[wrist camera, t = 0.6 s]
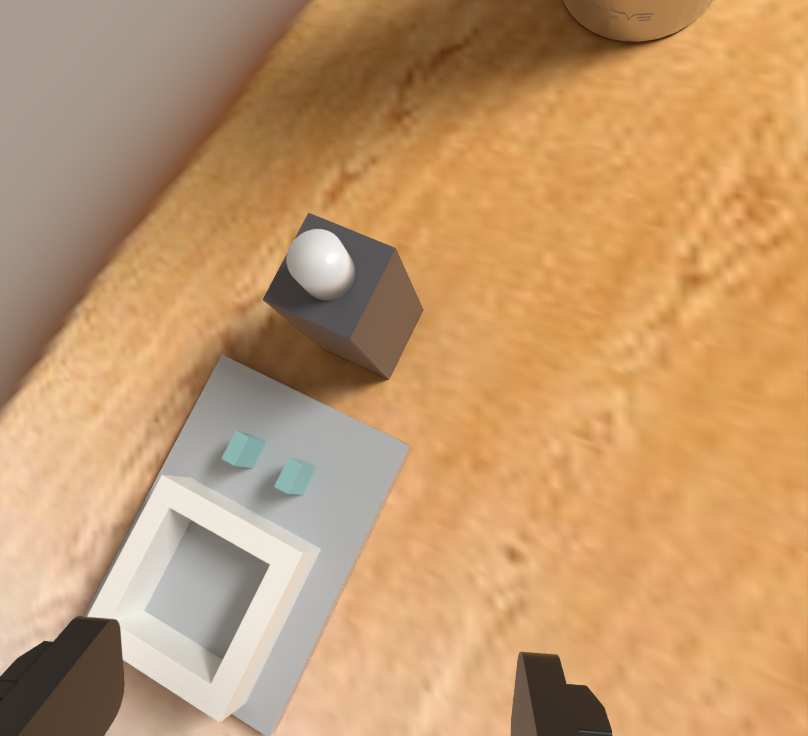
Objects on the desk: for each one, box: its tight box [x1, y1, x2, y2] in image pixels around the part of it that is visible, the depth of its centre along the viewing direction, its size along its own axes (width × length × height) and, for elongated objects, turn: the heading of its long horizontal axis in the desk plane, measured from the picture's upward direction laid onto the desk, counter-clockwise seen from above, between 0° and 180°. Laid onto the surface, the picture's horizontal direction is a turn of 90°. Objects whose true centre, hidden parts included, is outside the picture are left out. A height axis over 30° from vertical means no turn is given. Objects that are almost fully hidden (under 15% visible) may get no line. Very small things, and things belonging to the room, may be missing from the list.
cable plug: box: [263, 213, 423, 379], centre depth 31 cm, size 4×4×11 cm
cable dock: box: [83, 355, 411, 736], centre depth 33 cm, size 16×12×4 cm
